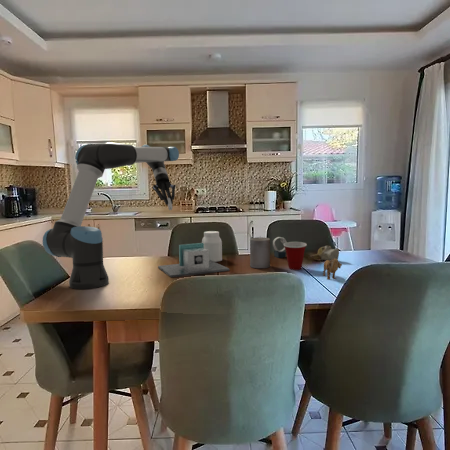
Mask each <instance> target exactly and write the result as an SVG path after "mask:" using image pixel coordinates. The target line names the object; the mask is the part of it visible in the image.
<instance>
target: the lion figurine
mask: <svg viewBox="0 0 450 450" xmlns="http://www.w3.org/2000/svg"><path fill="white" fill-rule="evenodd" d="M342 266H343V264H342V263H341V262H339V258H338V259H332V260H326V261H324V262H323V271H322V277H326V275H327V277H326V280H331V278H332V280H336V279H337V278H336V277H335V276H336V272H337V271H338V269H341V267H342ZM330 275H332V276H331V277H330Z"/></svg>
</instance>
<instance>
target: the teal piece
mask: <svg viewBox="0 0 450 450" xmlns="http://www.w3.org/2000/svg"><path fill="white" fill-rule="evenodd" d="M193 248H204V243H202V242H197V243H184V244H178V255H179V256H178V257H179V260H178V262H179V263H178V264H179V265H180V266H183V254H182V249H193ZM194 261H195V262H197V263H199V264H201V263H203V258H202V257H199V256H194Z"/></svg>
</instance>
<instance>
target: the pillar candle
mask: <svg viewBox="0 0 450 450" xmlns="http://www.w3.org/2000/svg"><path fill="white" fill-rule="evenodd" d="M249 267H250V268H253V269H268V268H270V267H271V239H270V238H269V237H261V236H259V237H252V238H250V239H249Z"/></svg>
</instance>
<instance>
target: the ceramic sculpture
mask: <svg viewBox="0 0 450 450" xmlns="http://www.w3.org/2000/svg"><path fill="white" fill-rule="evenodd" d="M339 256H340V249H339V248H335V249H334V248H332V246H331V245H329V244H325V246H321V247H319V248H318V250H317V253H315V254H311V255H308V257H310V258H312V259H313V260H321V261H323V260H329V261H330V260H332V259H338V260H339Z"/></svg>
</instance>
